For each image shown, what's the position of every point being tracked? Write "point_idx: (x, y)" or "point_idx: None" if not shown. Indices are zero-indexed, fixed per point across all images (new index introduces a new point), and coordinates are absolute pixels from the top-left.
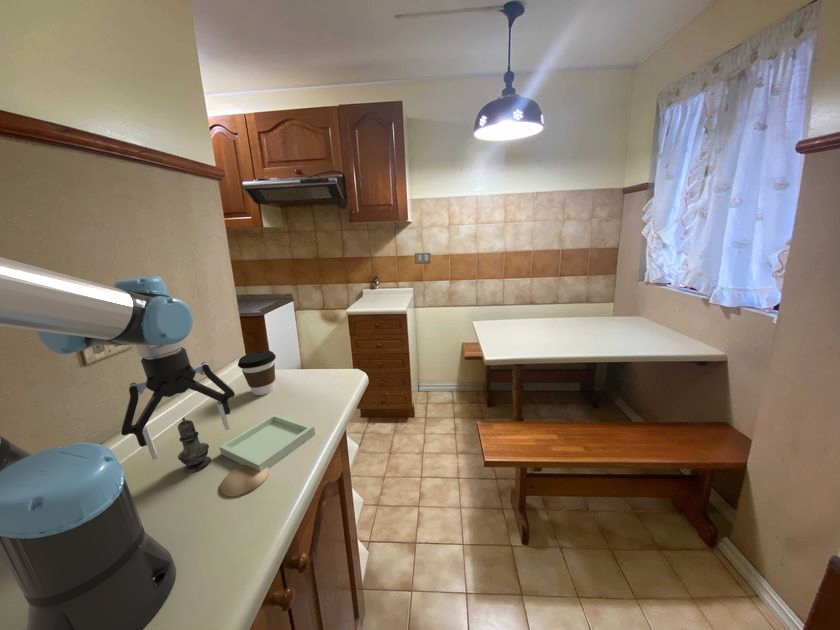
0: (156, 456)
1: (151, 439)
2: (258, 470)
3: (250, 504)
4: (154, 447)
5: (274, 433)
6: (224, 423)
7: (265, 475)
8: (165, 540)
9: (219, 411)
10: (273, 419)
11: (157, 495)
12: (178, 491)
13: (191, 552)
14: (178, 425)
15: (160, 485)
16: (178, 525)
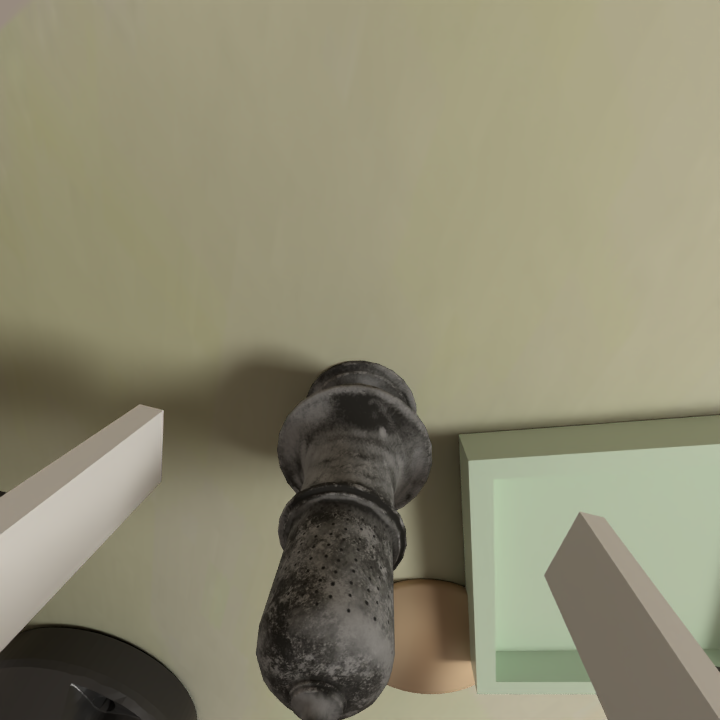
0: (151, 490)
1: (58, 524)
2: (470, 655)
3: (378, 709)
4: (125, 465)
5: (687, 531)
6: (573, 636)
7: (468, 683)
8: (192, 645)
9: (673, 662)
10: None
11: (197, 462)
12: (257, 505)
13: (230, 710)
14: (261, 659)
15: (214, 412)
16: (225, 630)
